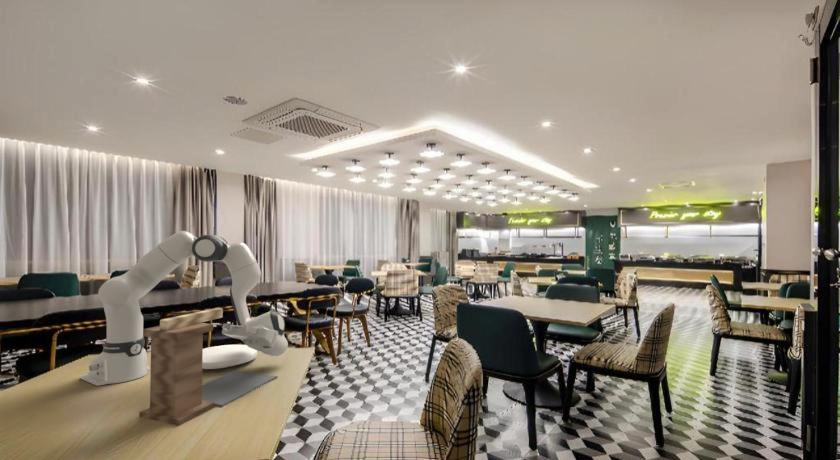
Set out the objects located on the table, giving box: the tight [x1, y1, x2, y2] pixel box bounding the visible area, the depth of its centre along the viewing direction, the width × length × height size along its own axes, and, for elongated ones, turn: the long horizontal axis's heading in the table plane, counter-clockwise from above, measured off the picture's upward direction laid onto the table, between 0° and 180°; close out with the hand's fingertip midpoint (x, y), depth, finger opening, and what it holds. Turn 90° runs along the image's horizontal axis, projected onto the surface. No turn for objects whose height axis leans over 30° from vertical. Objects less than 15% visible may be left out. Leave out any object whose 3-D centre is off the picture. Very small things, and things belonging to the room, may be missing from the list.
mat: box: [202, 369, 279, 408], centre depth 134 cm, size 20×26×1 cm
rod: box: [159, 307, 224, 331], centre depth 120 cm, size 20×3×3 cm, turn 162°
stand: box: [138, 322, 215, 426], centre depth 115 cm, size 16×12×26 cm
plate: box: [202, 344, 258, 370], centre depth 160 cm, size 28×6×27 cm
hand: (234, 326), depth 136 cm, fingers open, 8 cm apart
